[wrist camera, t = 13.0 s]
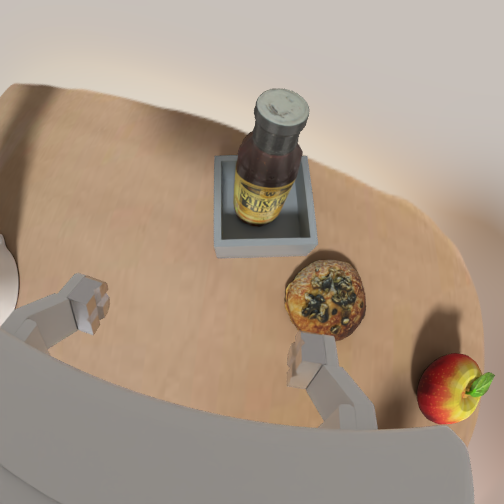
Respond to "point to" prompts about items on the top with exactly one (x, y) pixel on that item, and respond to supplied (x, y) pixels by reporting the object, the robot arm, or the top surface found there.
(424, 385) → the fruit
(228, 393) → the top surface
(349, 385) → the robot arm
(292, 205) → the bin
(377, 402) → the top surface
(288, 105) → the sauce bottle
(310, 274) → the bread roll
